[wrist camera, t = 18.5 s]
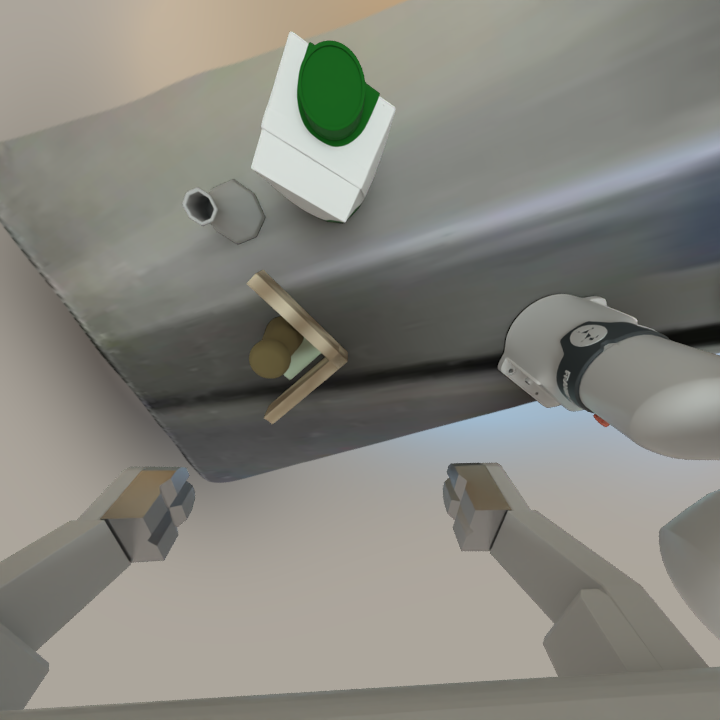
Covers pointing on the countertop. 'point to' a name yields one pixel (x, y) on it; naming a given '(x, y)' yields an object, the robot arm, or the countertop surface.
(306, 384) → the corner arena
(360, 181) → the milk carton
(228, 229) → the flask
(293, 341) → the cork
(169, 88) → the countertop surface
